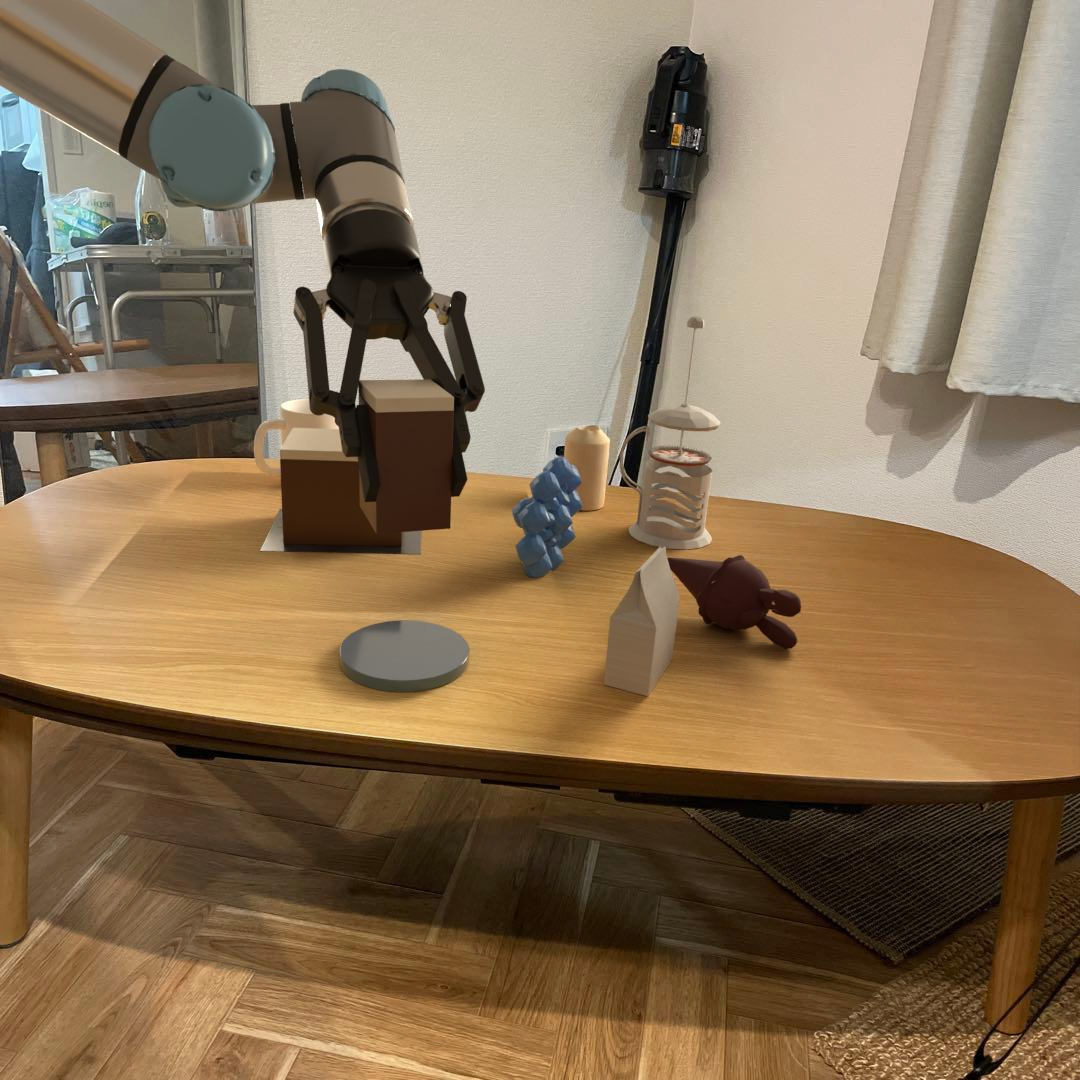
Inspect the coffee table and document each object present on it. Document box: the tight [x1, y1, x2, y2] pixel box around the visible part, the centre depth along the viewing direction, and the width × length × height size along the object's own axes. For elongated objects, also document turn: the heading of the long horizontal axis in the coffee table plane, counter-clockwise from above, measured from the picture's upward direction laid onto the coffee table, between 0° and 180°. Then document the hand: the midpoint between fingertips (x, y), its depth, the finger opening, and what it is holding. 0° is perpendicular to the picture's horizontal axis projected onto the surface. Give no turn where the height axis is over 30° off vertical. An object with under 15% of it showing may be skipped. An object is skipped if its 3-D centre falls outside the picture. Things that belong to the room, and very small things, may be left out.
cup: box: [253, 398, 339, 478], centre depth 111 cm, size 8×12×10 cm
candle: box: [563, 424, 611, 511], centre depth 112 cm, size 6×6×10 cm
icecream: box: [667, 554, 802, 650], centre depth 82 cm, size 7×7×15 cm
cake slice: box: [357, 378, 454, 534], centre depth 67 cm, size 6×6×10 cm
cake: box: [279, 428, 403, 546], centre depth 95 cm, size 12×9×10 cm
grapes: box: [511, 456, 583, 578], centre depth 90 cm, size 12×7×12 cm, turn 155°
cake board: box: [259, 508, 423, 555], centre depth 97 cm, size 16×13×1 cm
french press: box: [619, 316, 721, 550], centre depth 101 cm, size 10×12×25 cm
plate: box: [338, 619, 470, 693], centre depth 73 cm, size 10×10×1 cm
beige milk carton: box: [603, 546, 681, 697], centre depth 72 cm, size 4×7×10 cm, turn 156°
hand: (416, 490), depth 65 cm, fingers closed on cake slice, 6 cm apart
